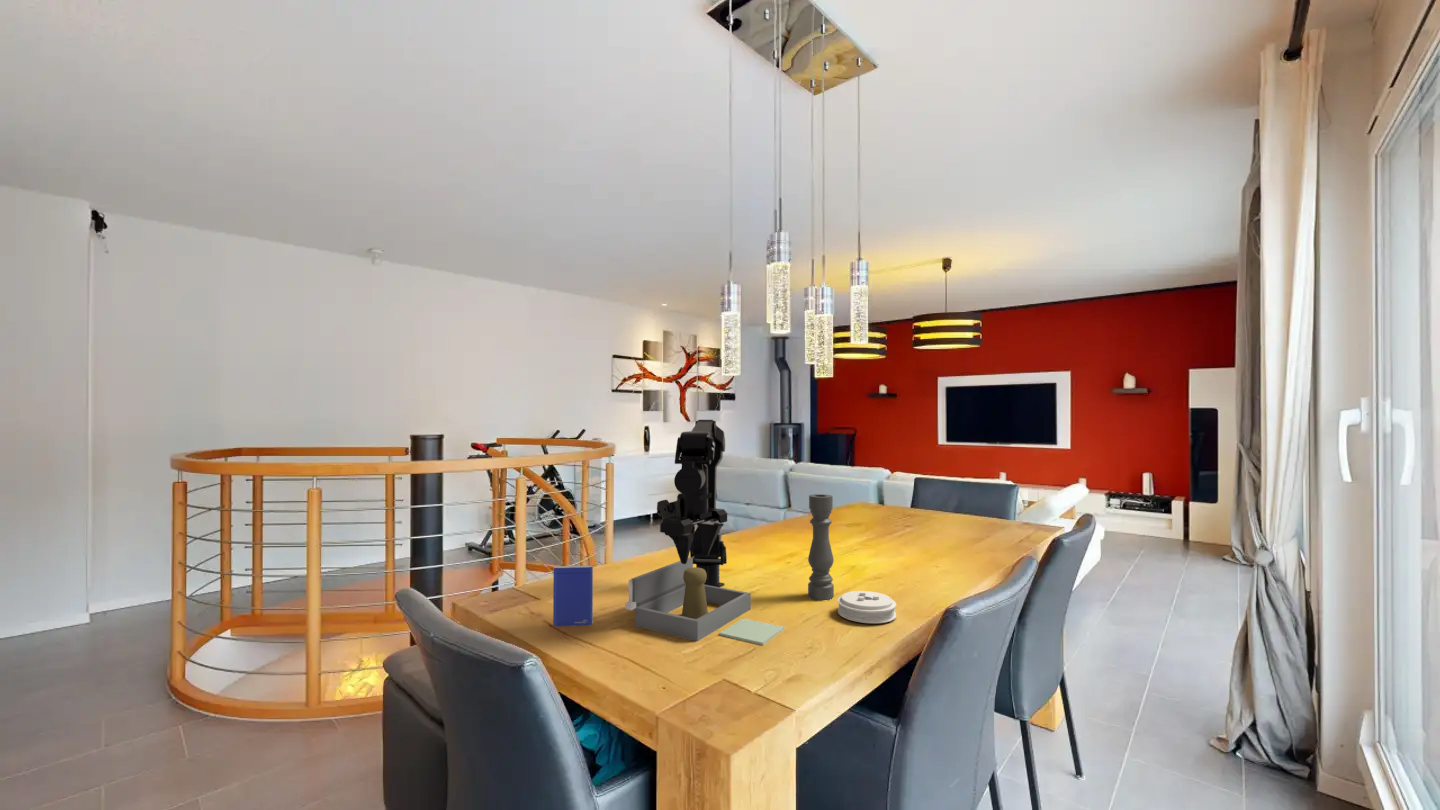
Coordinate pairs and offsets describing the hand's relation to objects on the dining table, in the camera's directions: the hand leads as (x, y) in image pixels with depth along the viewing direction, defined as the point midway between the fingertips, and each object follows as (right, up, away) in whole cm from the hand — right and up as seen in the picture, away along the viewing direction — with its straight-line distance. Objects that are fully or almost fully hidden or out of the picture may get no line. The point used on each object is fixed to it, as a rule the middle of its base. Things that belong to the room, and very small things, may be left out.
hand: (695, 559), depth 133 cm
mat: (+12, -13, -9) cm, 20 cm away
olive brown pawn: (0, -13, 0) cm, 13 cm away
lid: (+38, -14, +1) cm, 41 cm away
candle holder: (+30, -13, +14) cm, 36 cm away
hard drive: (-26, -13, -4) cm, 29 cm away
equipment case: (-1, -13, 0) cm, 13 cm away
